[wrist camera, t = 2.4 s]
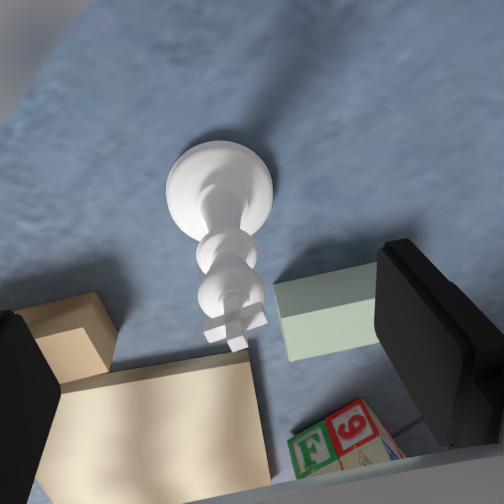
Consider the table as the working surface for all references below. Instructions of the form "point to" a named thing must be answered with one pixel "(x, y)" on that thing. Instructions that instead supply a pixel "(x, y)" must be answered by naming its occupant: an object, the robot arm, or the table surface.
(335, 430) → the stack of blocks
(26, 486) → the robot arm
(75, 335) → the honey-oak brick
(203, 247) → the chess piece
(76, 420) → the birch board
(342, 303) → the sage brick
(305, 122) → the table surface
